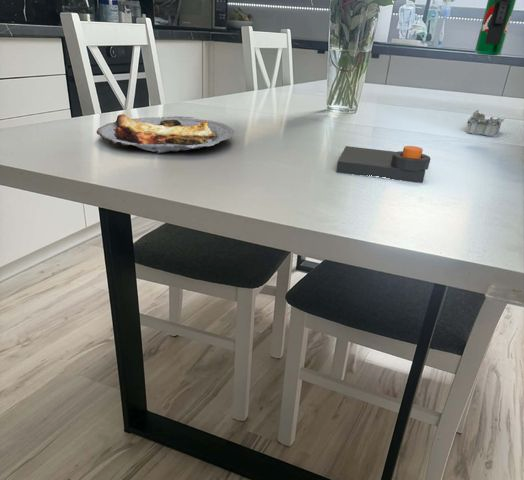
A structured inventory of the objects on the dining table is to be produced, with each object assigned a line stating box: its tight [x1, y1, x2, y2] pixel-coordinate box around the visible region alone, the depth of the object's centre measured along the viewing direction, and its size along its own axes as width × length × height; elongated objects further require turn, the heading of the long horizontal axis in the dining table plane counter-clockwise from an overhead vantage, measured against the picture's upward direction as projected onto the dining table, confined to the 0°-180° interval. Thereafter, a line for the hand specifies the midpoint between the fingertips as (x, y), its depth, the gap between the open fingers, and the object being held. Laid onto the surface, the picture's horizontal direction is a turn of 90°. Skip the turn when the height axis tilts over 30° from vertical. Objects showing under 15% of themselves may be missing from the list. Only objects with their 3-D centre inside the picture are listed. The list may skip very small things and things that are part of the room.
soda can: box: [474, 0, 517, 56], centre depth 95 cm, size 5×5×12 cm
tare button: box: [402, 145, 423, 159], centre depth 77 cm, size 3×3×2 cm
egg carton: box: [464, 109, 506, 137], centre depth 117 cm, size 11×8×4 cm
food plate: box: [96, 113, 235, 154], centre depth 90 cm, size 25×23×4 cm
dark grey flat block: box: [335, 145, 431, 184], centre depth 82 cm, size 14×12×4 cm
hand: (490, 43), depth 98 cm, fingers closed on soda can, 5 cm apart
